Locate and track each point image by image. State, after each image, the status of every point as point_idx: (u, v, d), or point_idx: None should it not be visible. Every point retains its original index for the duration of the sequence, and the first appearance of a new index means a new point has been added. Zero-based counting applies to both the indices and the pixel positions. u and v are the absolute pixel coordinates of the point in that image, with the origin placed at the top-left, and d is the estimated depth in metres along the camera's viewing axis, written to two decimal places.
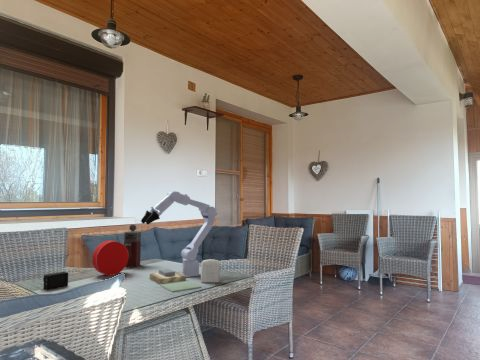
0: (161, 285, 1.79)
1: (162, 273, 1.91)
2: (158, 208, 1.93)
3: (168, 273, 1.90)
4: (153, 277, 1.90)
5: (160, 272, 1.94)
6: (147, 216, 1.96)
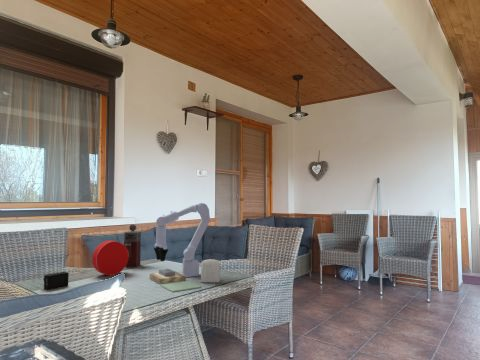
0: (161, 285, 1.79)
1: (162, 273, 1.91)
2: (160, 242, 2.00)
3: (168, 273, 1.90)
4: (153, 277, 1.90)
5: (160, 272, 1.94)
6: (158, 252, 2.04)
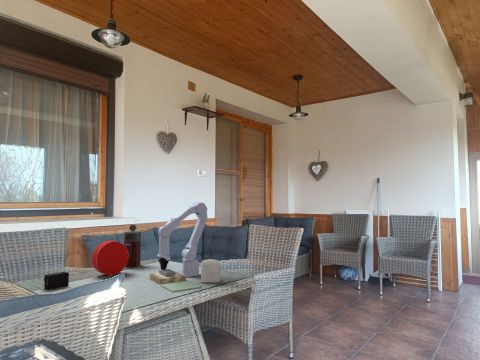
0: (161, 285, 1.79)
1: (162, 273, 1.91)
2: (163, 253, 1.96)
3: (168, 273, 1.89)
4: (153, 277, 1.90)
5: (160, 272, 1.93)
6: None
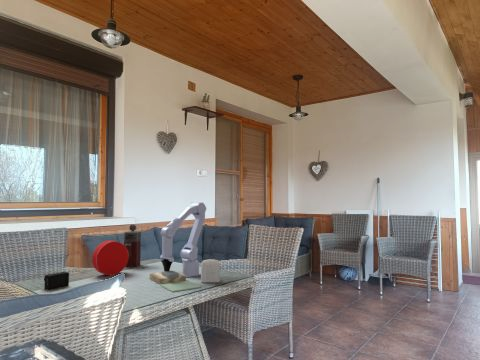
0: (161, 285, 1.79)
1: (166, 275, 1.87)
2: (166, 254, 1.92)
3: (172, 275, 1.85)
4: (153, 277, 1.90)
5: (163, 274, 1.89)
6: None
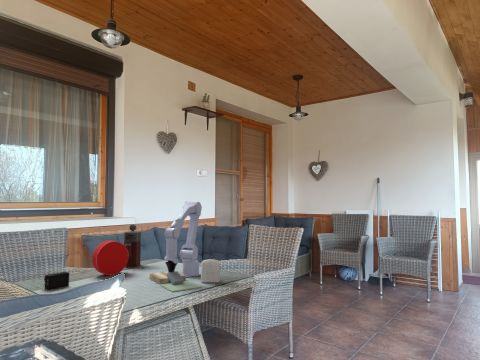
0: (161, 285, 1.79)
1: (170, 279, 1.82)
2: (171, 256, 1.87)
3: (177, 282, 1.80)
4: (153, 277, 1.90)
5: (168, 276, 1.84)
6: None
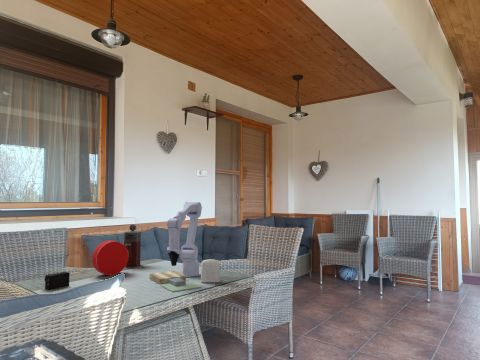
0: (161, 285, 1.79)
1: (172, 283, 1.80)
2: (173, 246, 1.85)
3: (178, 283, 1.78)
4: (153, 277, 1.90)
5: (170, 281, 1.82)
6: None
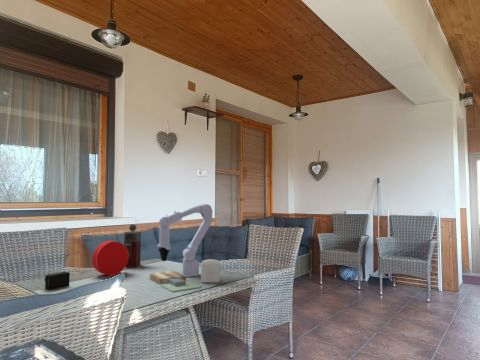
0: (161, 285, 1.79)
1: (172, 283, 1.80)
2: (163, 243, 1.98)
3: (178, 283, 1.78)
4: (153, 277, 1.90)
5: (170, 281, 1.82)
6: None
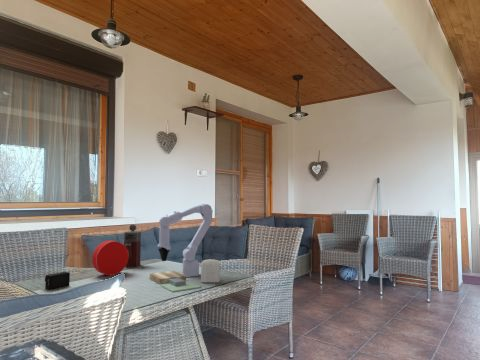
0: (161, 285, 1.79)
1: (172, 283, 1.80)
2: (163, 243, 1.98)
3: (178, 283, 1.78)
4: (153, 277, 1.90)
5: (170, 281, 1.82)
6: None
